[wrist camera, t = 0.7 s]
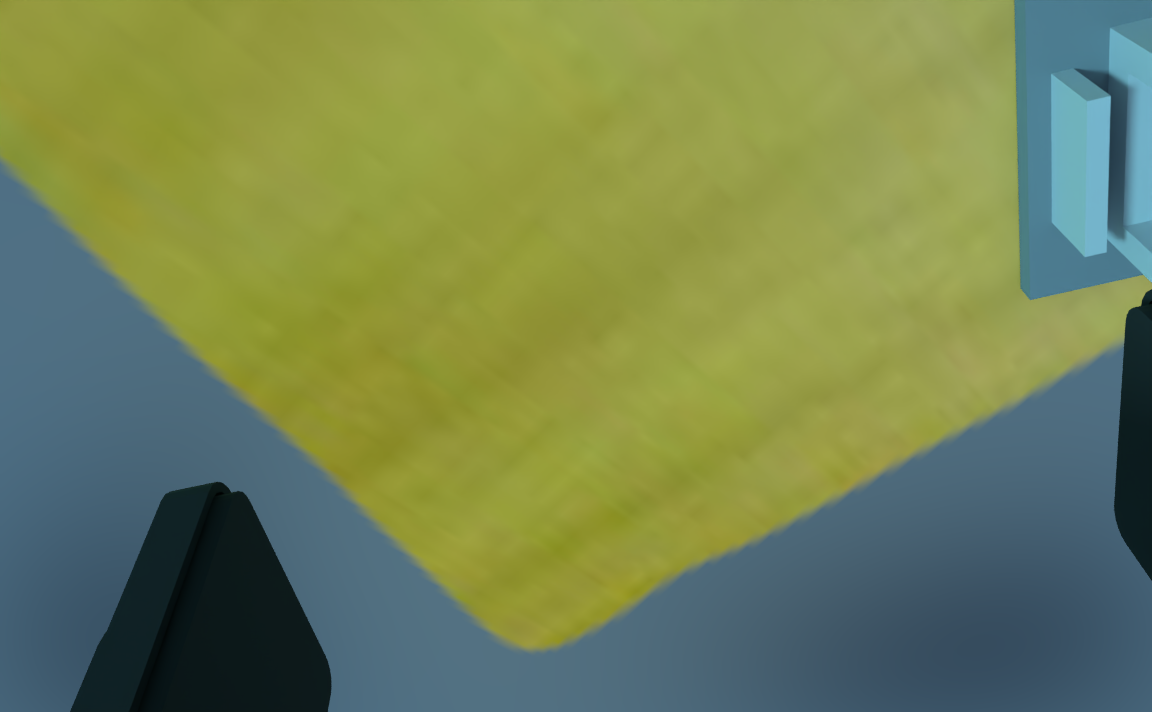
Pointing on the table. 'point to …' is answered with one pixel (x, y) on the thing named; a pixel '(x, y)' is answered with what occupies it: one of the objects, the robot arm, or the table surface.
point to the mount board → (1083, 142)
